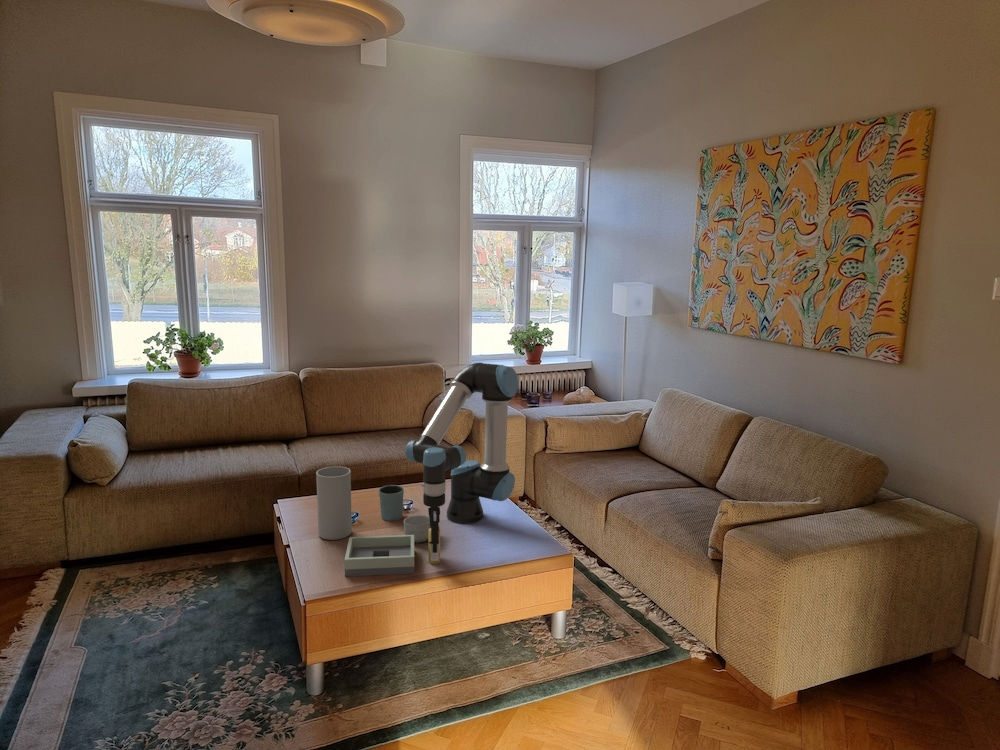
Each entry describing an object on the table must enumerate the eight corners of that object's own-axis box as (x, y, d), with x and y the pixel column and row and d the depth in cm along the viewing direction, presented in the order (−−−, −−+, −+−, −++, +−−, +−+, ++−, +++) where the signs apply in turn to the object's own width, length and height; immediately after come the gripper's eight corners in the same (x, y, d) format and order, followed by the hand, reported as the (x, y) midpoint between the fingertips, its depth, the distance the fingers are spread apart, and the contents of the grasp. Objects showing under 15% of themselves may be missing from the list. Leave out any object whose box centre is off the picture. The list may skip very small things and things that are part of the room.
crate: (414, 550, 243) (414, 534, 242) (414, 573, 225) (414, 556, 224) (349, 552, 240) (349, 537, 239) (344, 576, 222) (344, 559, 221)
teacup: (409, 547, 245) (409, 527, 244) (399, 536, 255) (399, 516, 253) (444, 540, 251) (444, 520, 250) (433, 530, 261) (433, 510, 259)
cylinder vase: (343, 542, 248) (341, 478, 244) (312, 538, 251) (310, 475, 246) (357, 529, 260) (355, 467, 256) (327, 526, 263) (325, 465, 258)
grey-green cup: (401, 511, 279) (401, 483, 277) (406, 520, 270) (406, 492, 268) (377, 513, 276) (377, 486, 274) (381, 523, 267) (380, 494, 264)
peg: (439, 559, 236) (439, 527, 234) (440, 564, 232) (440, 531, 230) (428, 559, 236) (428, 527, 234) (428, 564, 232) (428, 532, 230)
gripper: (422, 482, 240) (422, 541, 244) (423, 504, 218) (424, 568, 222) (443, 481, 241) (443, 540, 245) (446, 504, 219) (446, 567, 223)
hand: (434, 553), depth 233 cm, fingers open, 9 cm apart
